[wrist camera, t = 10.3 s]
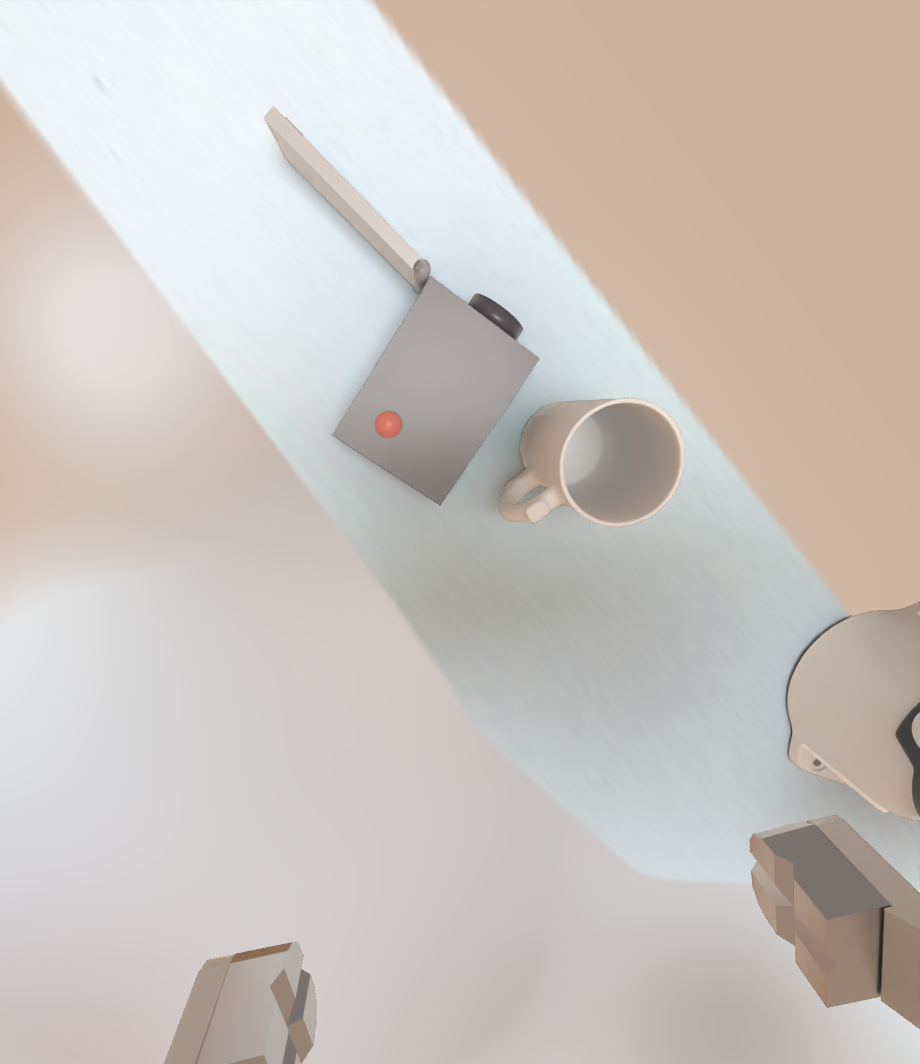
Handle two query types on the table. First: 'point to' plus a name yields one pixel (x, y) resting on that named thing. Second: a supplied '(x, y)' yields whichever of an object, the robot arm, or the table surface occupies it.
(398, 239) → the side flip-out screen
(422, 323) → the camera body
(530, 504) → the mug
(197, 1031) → the robot arm
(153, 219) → the table surface
